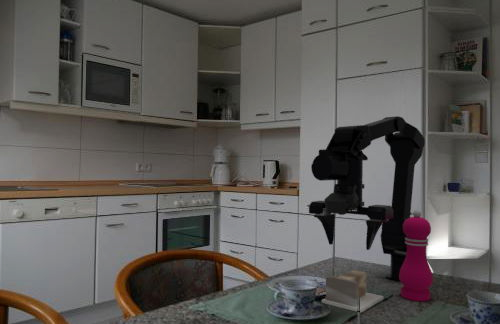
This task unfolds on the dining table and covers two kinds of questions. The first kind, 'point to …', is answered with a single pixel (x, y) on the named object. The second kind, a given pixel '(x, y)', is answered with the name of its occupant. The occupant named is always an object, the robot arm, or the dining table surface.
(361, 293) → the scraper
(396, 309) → the dining table surface
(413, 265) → the pepper mill
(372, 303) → the mat
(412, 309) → the dining table surface
